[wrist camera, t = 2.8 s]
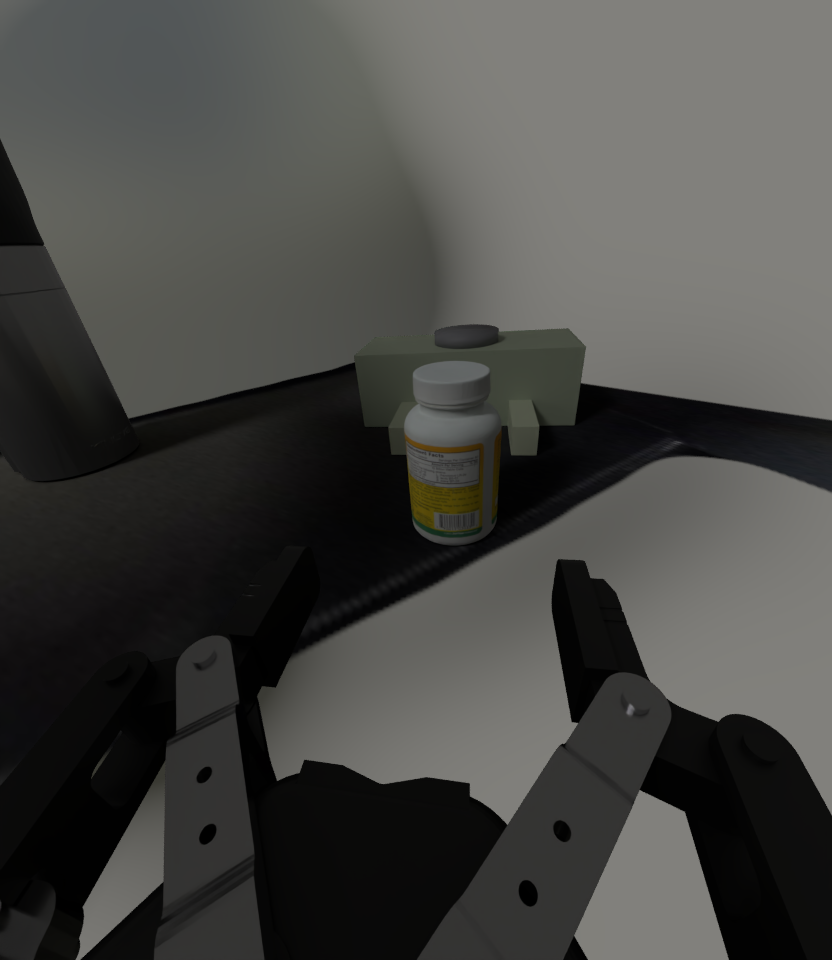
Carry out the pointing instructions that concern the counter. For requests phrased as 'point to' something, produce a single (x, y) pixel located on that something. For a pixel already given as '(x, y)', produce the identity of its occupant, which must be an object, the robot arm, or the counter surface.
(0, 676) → the counter surface
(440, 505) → the supplement bottle
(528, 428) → the olive footed block
